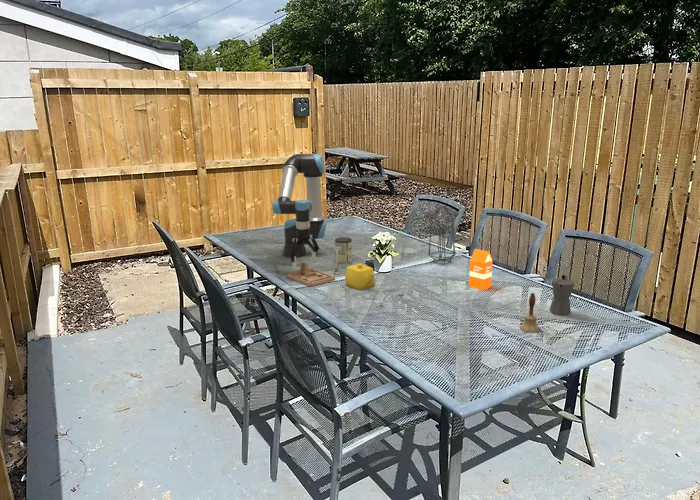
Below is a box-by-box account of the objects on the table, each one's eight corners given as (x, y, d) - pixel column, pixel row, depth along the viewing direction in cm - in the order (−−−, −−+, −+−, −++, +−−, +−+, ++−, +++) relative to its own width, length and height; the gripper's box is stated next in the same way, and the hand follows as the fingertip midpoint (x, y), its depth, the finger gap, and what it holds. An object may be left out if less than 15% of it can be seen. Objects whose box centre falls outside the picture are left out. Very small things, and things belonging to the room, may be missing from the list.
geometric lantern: (443, 267, 316) (444, 209, 307) (423, 262, 328) (423, 206, 319) (460, 261, 326) (461, 205, 317) (439, 257, 338) (440, 202, 329)
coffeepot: (568, 319, 238) (573, 280, 234) (546, 315, 243) (550, 277, 238) (573, 307, 252) (577, 271, 247) (552, 304, 256) (555, 268, 251)
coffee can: (336, 258, 335) (336, 237, 331) (352, 259, 334) (352, 237, 330) (334, 263, 325) (334, 241, 322) (351, 263, 324) (351, 241, 321)
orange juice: (476, 283, 288) (478, 247, 282) (491, 286, 281) (493, 250, 276) (468, 286, 282) (470, 250, 277) (483, 290, 276) (485, 253, 271)
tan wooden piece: (293, 276, 299) (292, 264, 297) (310, 272, 307) (309, 260, 305) (311, 284, 287) (311, 271, 285) (329, 279, 294) (328, 267, 292)
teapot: (381, 288, 281) (382, 266, 278) (363, 293, 274) (363, 271, 271) (358, 278, 297) (358, 258, 293) (340, 283, 289) (340, 262, 286)
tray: (287, 277, 299) (287, 274, 299) (311, 271, 310) (311, 268, 309) (310, 286, 283) (310, 283, 283) (334, 280, 294) (334, 276, 294)
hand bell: (516, 325, 232) (519, 290, 228) (535, 324, 233) (538, 290, 229) (524, 333, 224) (527, 297, 220) (543, 332, 225) (546, 296, 221)
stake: (330, 273, 306) (330, 247, 302) (338, 271, 309) (337, 246, 305) (335, 275, 303) (334, 249, 299) (342, 273, 306) (342, 247, 302)
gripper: (288, 232, 283) (289, 271, 289) (325, 225, 299) (325, 262, 304) (280, 230, 288) (281, 268, 294) (316, 223, 304) (317, 259, 310)
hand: (304, 265), depth 299 cm, fingers open, 13 cm apart
